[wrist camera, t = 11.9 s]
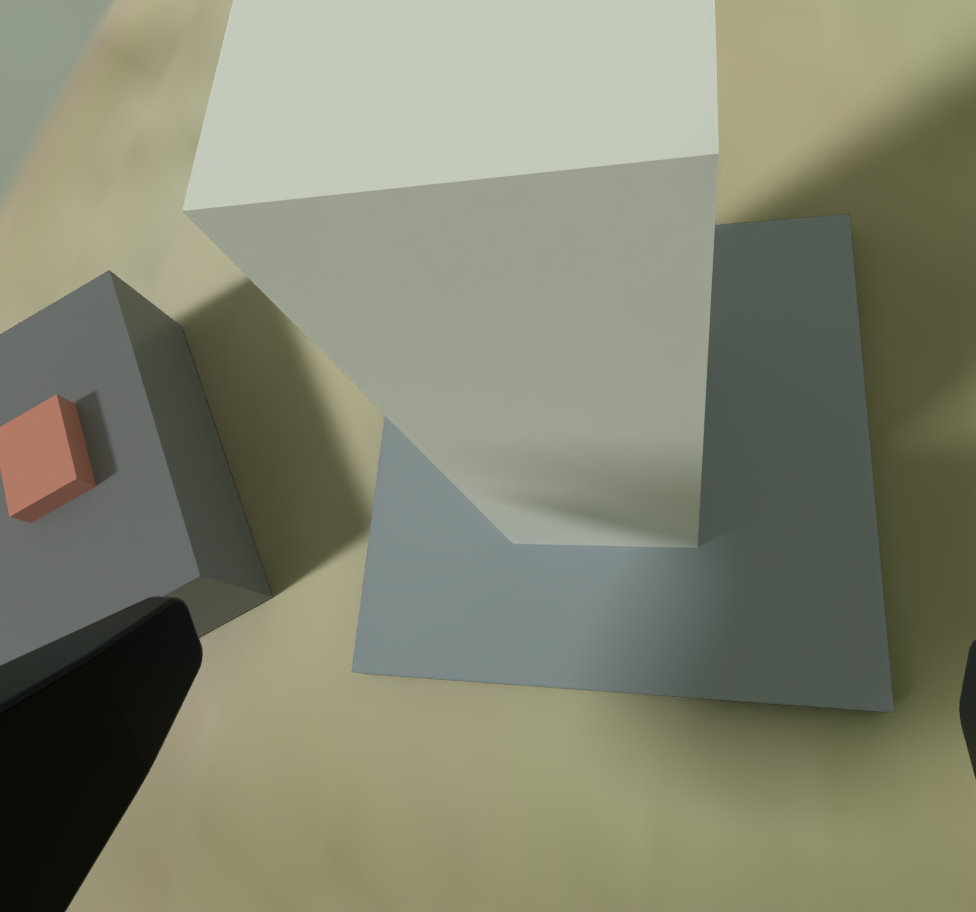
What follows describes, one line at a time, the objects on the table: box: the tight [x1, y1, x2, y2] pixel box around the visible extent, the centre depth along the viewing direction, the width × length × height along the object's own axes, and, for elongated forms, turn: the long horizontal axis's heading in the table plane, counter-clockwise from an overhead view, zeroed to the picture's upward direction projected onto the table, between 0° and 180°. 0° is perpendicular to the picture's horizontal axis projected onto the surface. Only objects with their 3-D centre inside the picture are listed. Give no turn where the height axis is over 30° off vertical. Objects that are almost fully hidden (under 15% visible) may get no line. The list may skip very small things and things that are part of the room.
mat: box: [352, 214, 894, 712], centre depth 17 cm, size 11×11×1 cm
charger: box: [182, 0, 719, 548], centre depth 12 cm, size 4×5×12 cm
